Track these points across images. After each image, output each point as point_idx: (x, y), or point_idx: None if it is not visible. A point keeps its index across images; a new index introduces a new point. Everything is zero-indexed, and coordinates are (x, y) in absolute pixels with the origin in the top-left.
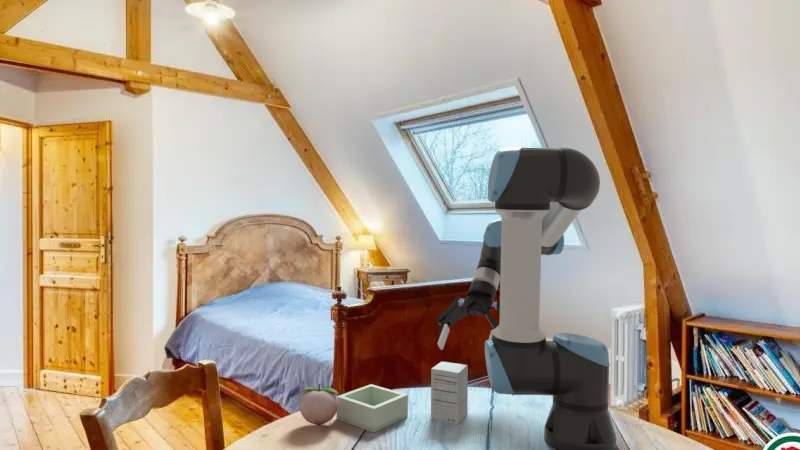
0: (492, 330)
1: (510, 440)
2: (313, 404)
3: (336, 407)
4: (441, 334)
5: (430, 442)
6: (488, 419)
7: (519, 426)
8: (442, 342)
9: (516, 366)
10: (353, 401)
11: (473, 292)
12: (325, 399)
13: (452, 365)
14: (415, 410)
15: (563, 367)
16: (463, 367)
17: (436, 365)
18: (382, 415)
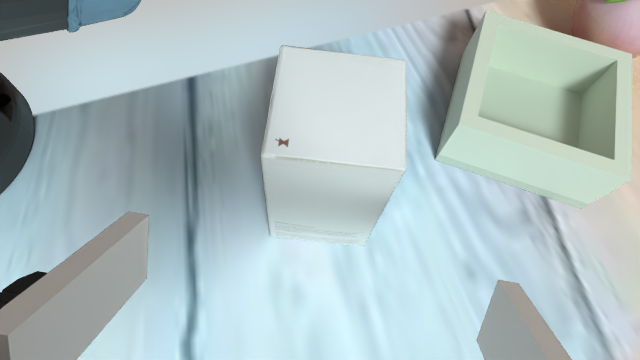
0: (2, 324)
1: (132, 105)
2: None
3: (582, 15)
4: (551, 340)
5: (323, 48)
6: (197, 219)
7: (98, 197)
8: (500, 329)
9: None
10: (566, 37)
11: None
12: None
13: (330, 118)
14: (436, 213)
15: None
16: (273, 112)
17: (402, 105)
18: (469, 54)
